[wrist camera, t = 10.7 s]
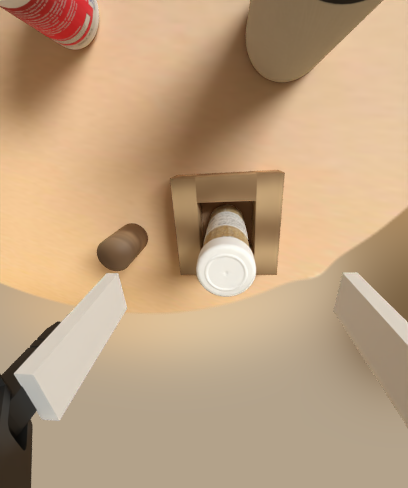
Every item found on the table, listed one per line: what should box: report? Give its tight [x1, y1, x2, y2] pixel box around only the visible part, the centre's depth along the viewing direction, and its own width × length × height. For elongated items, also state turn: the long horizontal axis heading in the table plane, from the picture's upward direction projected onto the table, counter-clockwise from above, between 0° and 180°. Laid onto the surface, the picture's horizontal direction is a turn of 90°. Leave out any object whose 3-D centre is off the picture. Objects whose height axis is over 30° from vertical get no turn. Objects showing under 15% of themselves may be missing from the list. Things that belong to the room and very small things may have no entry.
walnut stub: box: [97, 223, 148, 271], centre depth 28 cm, size 4×4×6 cm
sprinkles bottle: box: [196, 205, 256, 297], centre depth 22 cm, size 5×5×13 cm
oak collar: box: [170, 170, 285, 275], centre depth 27 cm, size 12×12×4 cm
